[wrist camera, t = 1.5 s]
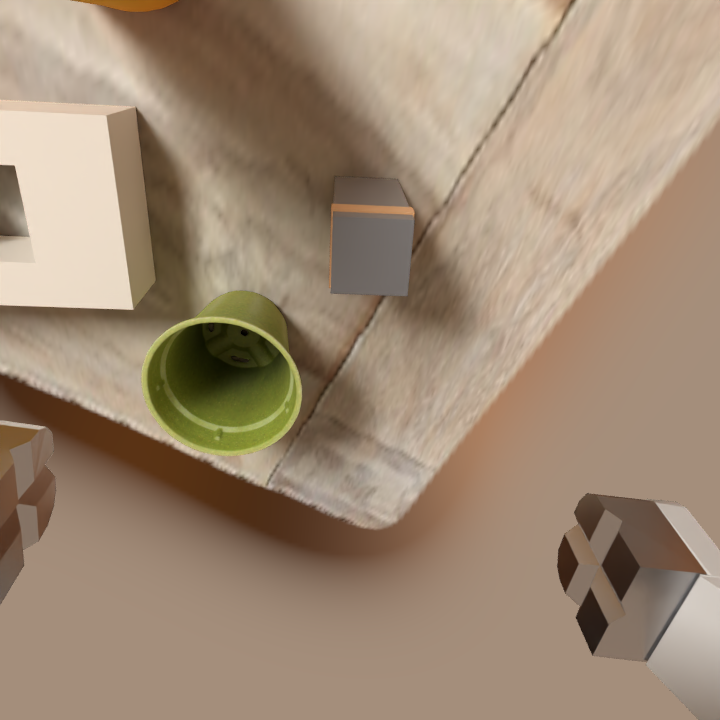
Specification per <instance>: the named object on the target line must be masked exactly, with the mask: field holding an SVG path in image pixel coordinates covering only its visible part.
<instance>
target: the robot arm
mask: <svg viewBox="0 0 720 720" xmlns="http://www.w3.org/2000/svg"><path fill="white" fill-rule="evenodd" d="M53 452H54V448H53V439H52V433H51V431H50V430H49V429H48V428H47V427H42V426H36V425H28V424H22V423H15V422H7V421H0V604H1V603H2V601H3V600H4V598H5V596H6V595H7V593H8V591H9V590H10V588H11V586H12V585H13V583H14V581H15V580H16V578H17V576H18V575H19V573H20V572H21V570H22V568H23V567H24V556H23V550H24V549H26V548H28V547H29V546H31V545H33V544H35V543H36V542H38V541H39V540H40V538H41V536H42V535H43V533H44V531H45V529H46V527H47V526H48V523H49V520H50V517H51V514H52V511H53V508H54V503H55V494H56V479H55V476H54V475H53V473H52V472H51V471H50V470H49V469H48V468H47V466H46V465H45V464H46V463H47V461H48V459H49V458H50V457H51V455H52V454H53ZM574 514H575V516H576V519H577V522H578V525H576V526H575V527H573V528H572V529H571V530H569V531H568V532H566V533H565V534H564V537H563V539H562V542H561V544H560V547H559V549H558V564H557V568H558V573H559V579H560V582H561V584H562V587H563V589H564V592H565V594H567V595H568V596H569V597H570V598H571V599H572V600H573V601H574V602H576V603H577V604H578V605H579V606H580V607H579V610H578V613H577V615H576V619H577V622H578V624H579V626H580V628H581V631H582V633H583V635H584V637H585V640H586V642H587V644H588V647H589V649H590V651H591V653H592V655H593V656H599V657H608V658H616V659H625V660H634V661H642V662H647V663H646V666H647V667H648V668H649V669H650V670H652V672H653V673H654V674H655V675H656V676H657V677H658V678H659V679H660V680H661V681H662V682H663V683H664V684H665V685H666V686H667V687H668V689H670V691H671V692H672V693H673V694H674V695H675V696H676V697H677V698H678V699H679V700H680V701H681V702H682V703H683V704H684V705H685V706H686V707H687V708H688V709H689V710H690V711H691V713H692V714H693V715H694V716H695V717H696V718H697V719H698V720H720V550H719V549H718V547H717V546H716V545H715V544H714V542H713V541H712V540H711V539H710V538H709V536H708V535H707V534H706V532H705V531H704V530H703V528H702V527H701V526H700V525H699V523H698V522H697V521H696V520H695V518H694V517H693V516H692V514H691V513H690V512H689V511H688V509H687V508H686V507H684V506H683V505H681V504H679V503H678V502H672V501H662V500H651V499H646V500H641V499H632V498H623V497H615V496H606V495H598V494H589V493H587V494H586V495H585V496H584V497H583V498H582V499H581V500H580V501H579V503H578V506H577V507H576V510H575V512H574Z"/></svg>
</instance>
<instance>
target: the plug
mask: <svg viewBox="0 0 720 720" xmlns="http://www.w3.org/2000/svg"><path fill="white" fill-rule="evenodd" d="M414 215H415V212H414V210H413V208H412V207H409V205H408V203H407V200H406V198H405V195H404V193H403V191H402V188H401V186H400V183H399V181H398V179H386V178H364V177H342V176H335V184H334V203H333V204H331V233H330V269H329V288H331V293H333V294H360V295H387V296H408V286H409V275H410V264H411V254H412V243H413V232H414V222H415V220H414Z"/></svg>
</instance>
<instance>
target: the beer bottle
mask: <svg viewBox="0 0 720 720" xmlns="http://www.w3.org/2000/svg"><path fill="white" fill-rule="evenodd" d="M72 1H78V2H84V3H90V4H97V5H103V6H106V7H109V8H114V9H119V10H123V11H128V12H148V11H152V10H157V9H161V8H165V7H167V6H169V5H171V4H173V3H175V2H177V1H179V0H72Z"/></svg>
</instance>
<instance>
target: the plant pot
mask: <svg viewBox="0 0 720 720" xmlns="http://www.w3.org/2000/svg"><path fill="white" fill-rule="evenodd" d="M209 323H214V330H213V332H210V330H209V328H208V325H209ZM241 330H246V331H247V332H248V335H246V336H243V335H242V334H241V333H240V332H241ZM273 345H274V346H273ZM232 355H233V356H236V357H238V358H242V359H249V361H248V362H239V361H235V360H233V359H232V358H231V356H232ZM141 383H142V392H143V396H144V399H145V401H146V404H147V407H148V409H149V411H150V413H151V414H152V416H153V417H154V419H155V420H156V421H157V423H158V424H159V425H160V427H161V428H162V429H163V430H165V431H166V432H167V433H168V434H169V435H170V436H172V437H173V438H174V439H176V440H177V441H179V442H181V443H182V444H184V445H186V446H188V447H190V448H192V449H195V450H197V451H200V452H203V453H207V454H213V455H218V456H237V455H245V454H250V453H254V452H257V451H260V450H262V449H265V448H266V447H268V446H270V445H272V444H274V443H275V442H277V441H278V440H279V439H281V438H282V437H283V436H284V435H285V434H286V433H287V432H288V431H289V430H290V428H291V427H292V425H293V424H294V422H295V420H296V418H297V416H298V414H299V411H300V408H301V403H302V383H301V378H300V374H299V371H298V368H297V366H296V364H295V362H294V360H293V358H292V356H291V355H290V353H289V345H288V334H287V325H286V322H285V319H284V318H283V316H282V314H281V313H280V311H279V310H278V309H277V307H276V306H275V305H274V303H272V302H271V301H270V300H269V299H267V298H265V297H263V296H262V295H259V294H257V293H254V292H249V291H232V292H228V293H226V294H223V295H221V296H219V297H217V298H216V299H214V300H213V301H212V302H211V303H210V304H209V305H208V306H206V307H205V308H204V309H203V310H202V311H201V312H200V313H199V314H198V315H197V316H196V317H195V318H192V319H188V320H185V321H183V322H180V323H178V324H176V325H174V326H173V327H171V328H169V329H168V330H167V331H165V332H164V333H163V334H162V335H161V336H160V337H159V338H158V339H157V340H156V341H155V342H154V343H153V345H152V346H151V348H150V349H149V351H148V353H147V355H146V357H145V360H144V363H143V367H142V377H141Z"/></svg>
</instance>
